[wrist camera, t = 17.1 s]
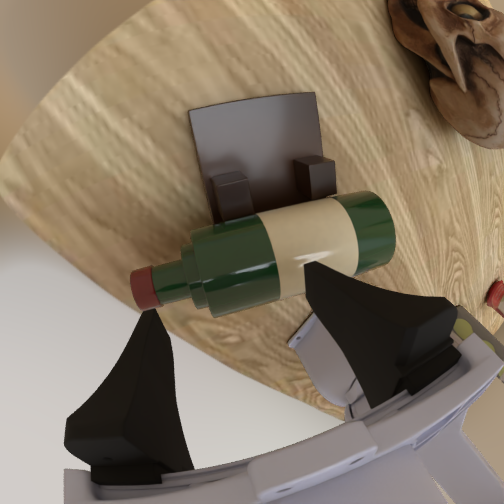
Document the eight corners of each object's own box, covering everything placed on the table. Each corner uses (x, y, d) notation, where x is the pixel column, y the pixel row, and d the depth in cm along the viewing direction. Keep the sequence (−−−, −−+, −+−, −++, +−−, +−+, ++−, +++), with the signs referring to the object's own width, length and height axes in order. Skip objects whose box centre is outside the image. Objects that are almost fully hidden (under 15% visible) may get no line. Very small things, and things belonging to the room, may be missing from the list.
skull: (392, -41, 11) (500, -50, 1) (468, 57, 20) (551, 79, 9) (346, 51, 17) (498, 60, 6) (438, 145, 26) (531, 189, 15)
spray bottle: (463, 304, 40) (529, 366, 23) (451, 324, 42) (512, 387, 25) (454, 304, 39) (524, 373, 22) (441, 326, 41) (506, 395, 24)
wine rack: (324, 271, 26) (343, 291, 23) (232, 300, 24) (242, 325, 21) (309, 92, 18) (333, 89, 15) (187, 111, 16) (190, 108, 13)
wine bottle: (351, 180, 19) (400, 206, 15) (350, 244, 22) (390, 281, 17) (127, 232, 17) (112, 280, 12) (154, 297, 20) (152, 353, 15)
